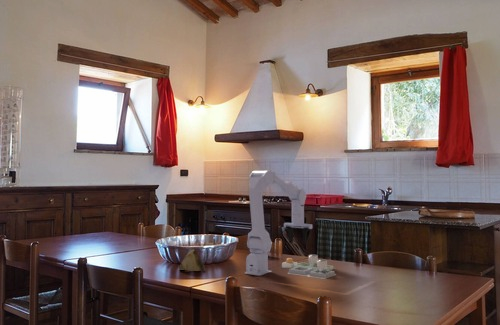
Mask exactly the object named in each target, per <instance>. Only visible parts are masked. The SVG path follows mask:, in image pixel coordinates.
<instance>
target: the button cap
mask: <svg viewBox="0 0 500 325" xmlns="http://www.w3.org/2000/svg"><path fill="white" fill-rule="evenodd" d="M286 262H287V263H290V264H291V263H293V262H294V258H291V257H287V258H286Z"/></svg>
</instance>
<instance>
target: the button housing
mask: <svg viewBox="0 0 500 325" xmlns="http://www.w3.org/2000/svg"><path fill="white" fill-rule="evenodd" d="M295 264H298V261H297V262H296V261H293V263H291V264H290V263H287V261H284V262H282V263H281V268H283V269H291V268H294V265H295Z"/></svg>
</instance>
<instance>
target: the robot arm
mask: <svg viewBox="0 0 500 325" xmlns="http://www.w3.org/2000/svg"><path fill="white" fill-rule="evenodd" d="M248 180H249V181H248V182H249V186H248V195H249V208H250V209H249V211H250V218H251V219H250V221H251V231H250V232H248V234H247V241H246V245H247V248H248V249H249V252H250V253H249V254H247V255H246V260H245V272H244V275H245V274H247V275H254V276H259V277H260V276H262V275H266V274H268V273H272V272H273V271H272V270H269V264H268V261H269V258H268V257H269V252H270V251H271V248H272V244H273V243H272V239H271V236H270V233H269V232H268V230H266V226H265V216H264V204H263V203H264V202H263V192H264V191H265V190H266V189H268V188H269V187H270V186H271V185H274V186H276V187H278V188H279V189H280V192H282V193H283V194H284V195H286V196H287V197H288V198H289V200H290V201H291V222H284V223H283V228H284V232H285V234H286V235H287V239H288V243H289V244H293V243H294V232H295V229H297V228H298V229H301V232H302V244H303V245H307V244H308V240H309V236H310V234H311V233H312V229H313V224H310V223H305V203H306V199H307V193H306V191H305V190H304V189H303V188H299V187H298V186H297V185H294V183H293V182H292V181H284V180H283V179H281V178H280V177H279V176H278V174H277V175H276V172H274V171H272V170H271V169H269V170H253V171H252V172H251V173H250V174H249V176H248Z"/></svg>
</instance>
